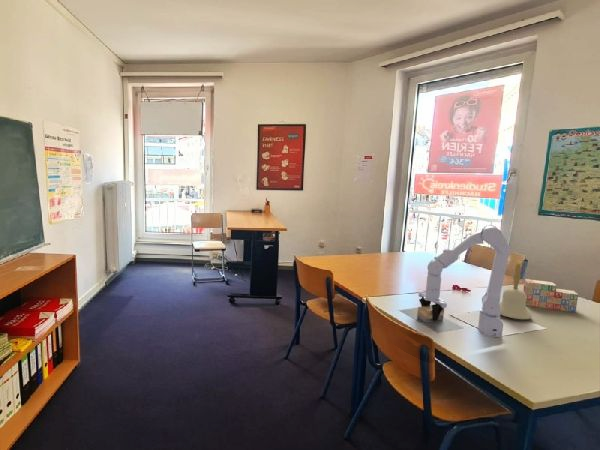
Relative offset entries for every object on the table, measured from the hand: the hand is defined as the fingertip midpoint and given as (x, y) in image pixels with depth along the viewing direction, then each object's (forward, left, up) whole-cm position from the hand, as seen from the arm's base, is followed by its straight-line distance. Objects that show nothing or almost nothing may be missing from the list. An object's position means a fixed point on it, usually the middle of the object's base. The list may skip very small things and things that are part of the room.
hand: (430, 317), depth 150 cm
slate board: (0, 0, -2) cm, 2 cm away
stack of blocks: (+31, -66, -2) cm, 73 cm away
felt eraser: (0, 0, 0) cm, 1 cm away
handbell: (+14, -41, -2) cm, 43 cm away
